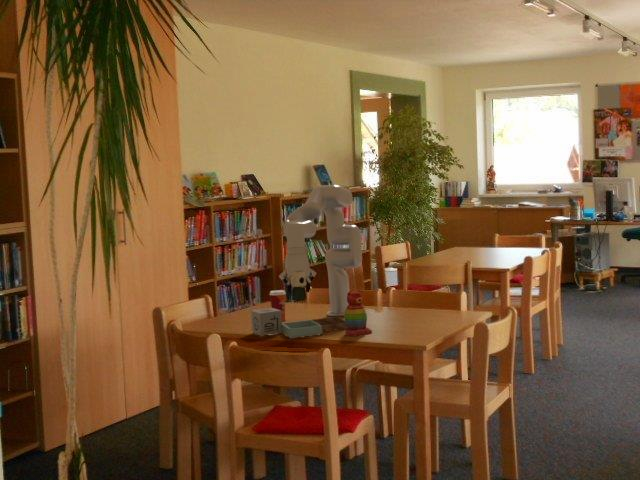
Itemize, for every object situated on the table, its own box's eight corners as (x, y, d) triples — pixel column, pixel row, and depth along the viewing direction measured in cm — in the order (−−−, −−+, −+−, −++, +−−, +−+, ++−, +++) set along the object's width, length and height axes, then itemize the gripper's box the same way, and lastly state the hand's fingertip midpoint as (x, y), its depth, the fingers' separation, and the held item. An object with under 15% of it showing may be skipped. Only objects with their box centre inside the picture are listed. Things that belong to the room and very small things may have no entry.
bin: (312, 328, 384) (311, 319, 384) (322, 335, 369) (321, 325, 369) (281, 332, 380) (280, 323, 380) (290, 338, 365) (289, 329, 365)
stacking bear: (350, 336, 362) (348, 294, 361) (340, 332, 372) (337, 291, 370) (373, 333, 367) (371, 291, 365) (363, 329, 376) (360, 288, 374)
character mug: (300, 303, 367) (298, 272, 366) (285, 303, 370) (283, 272, 369) (312, 299, 376) (311, 269, 375) (298, 299, 380) (296, 269, 379)
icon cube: (282, 333, 378) (281, 310, 377) (261, 336, 373) (259, 313, 372) (273, 330, 386) (272, 307, 386) (252, 333, 382) (251, 310, 381)
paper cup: (285, 322, 404) (283, 292, 403) (269, 322, 406) (267, 292, 405) (289, 319, 412) (287, 289, 411) (273, 319, 414) (271, 290, 412)
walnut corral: (337, 322, 396) (337, 316, 396) (349, 328, 380) (349, 322, 380) (310, 325, 393) (309, 319, 393) (320, 331, 377) (320, 325, 376)
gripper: (313, 249, 378) (316, 290, 379) (274, 252, 373) (276, 293, 374) (318, 250, 371) (320, 292, 372) (278, 253, 366) (281, 295, 367)
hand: (298, 292), depth 373 cm, fingers closed on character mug, 7 cm apart
